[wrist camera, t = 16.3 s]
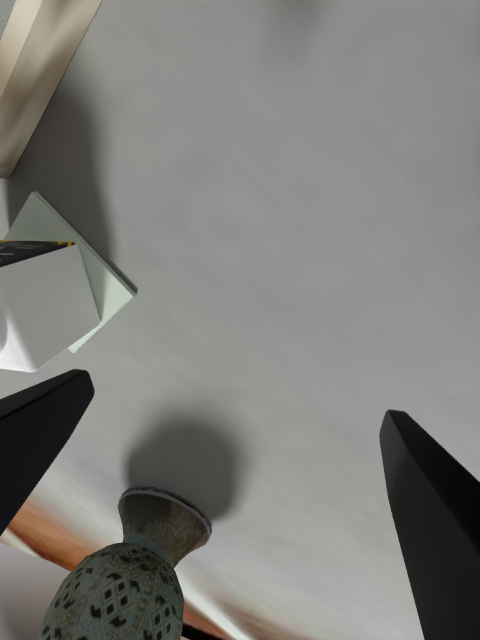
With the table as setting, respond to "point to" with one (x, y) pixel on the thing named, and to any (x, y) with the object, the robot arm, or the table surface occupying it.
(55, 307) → the medicine bottle
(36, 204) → the sage mat
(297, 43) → the table surface
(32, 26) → the birch box
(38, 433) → the robot arm
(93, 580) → the lantern
